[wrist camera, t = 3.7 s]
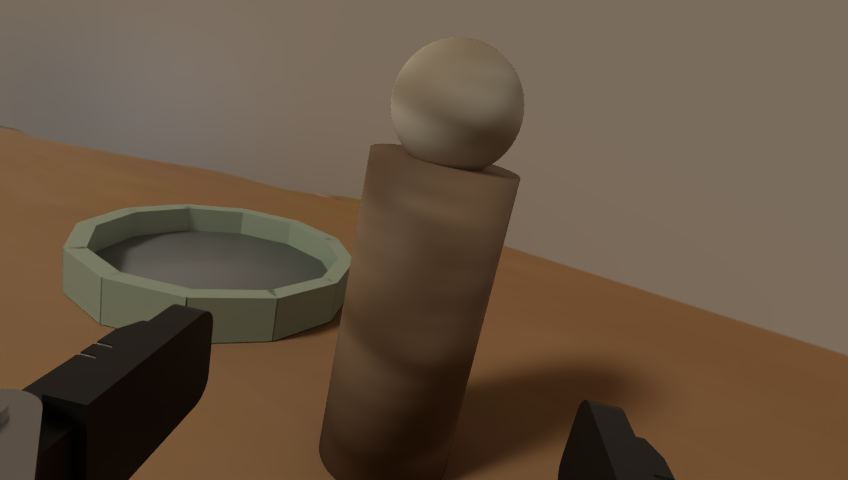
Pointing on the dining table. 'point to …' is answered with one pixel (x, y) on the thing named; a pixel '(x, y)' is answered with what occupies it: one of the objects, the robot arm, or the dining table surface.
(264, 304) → the round tray
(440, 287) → the wooden peg figure
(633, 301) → the dining table surface
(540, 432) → the dining table surface
